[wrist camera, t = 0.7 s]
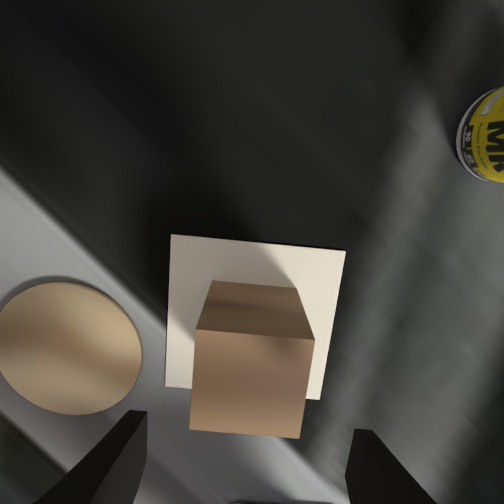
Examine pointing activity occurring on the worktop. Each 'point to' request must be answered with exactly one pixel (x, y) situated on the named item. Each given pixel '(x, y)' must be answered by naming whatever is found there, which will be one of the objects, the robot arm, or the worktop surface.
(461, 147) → the supplement bottle
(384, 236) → the worktop surface
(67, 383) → the cork coaster
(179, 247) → the tile
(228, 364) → the walnut block
